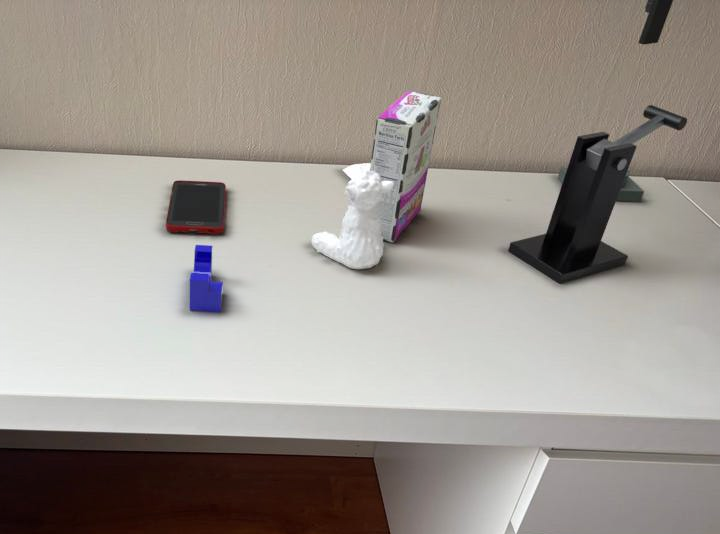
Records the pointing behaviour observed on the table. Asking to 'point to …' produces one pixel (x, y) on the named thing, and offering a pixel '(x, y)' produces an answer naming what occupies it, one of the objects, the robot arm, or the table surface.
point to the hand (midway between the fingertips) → (696, 58)
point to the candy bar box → (404, 158)
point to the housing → (627, 191)
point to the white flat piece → (356, 169)
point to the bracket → (580, 216)
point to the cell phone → (196, 207)
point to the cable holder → (204, 283)
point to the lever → (636, 132)
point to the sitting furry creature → (358, 224)
